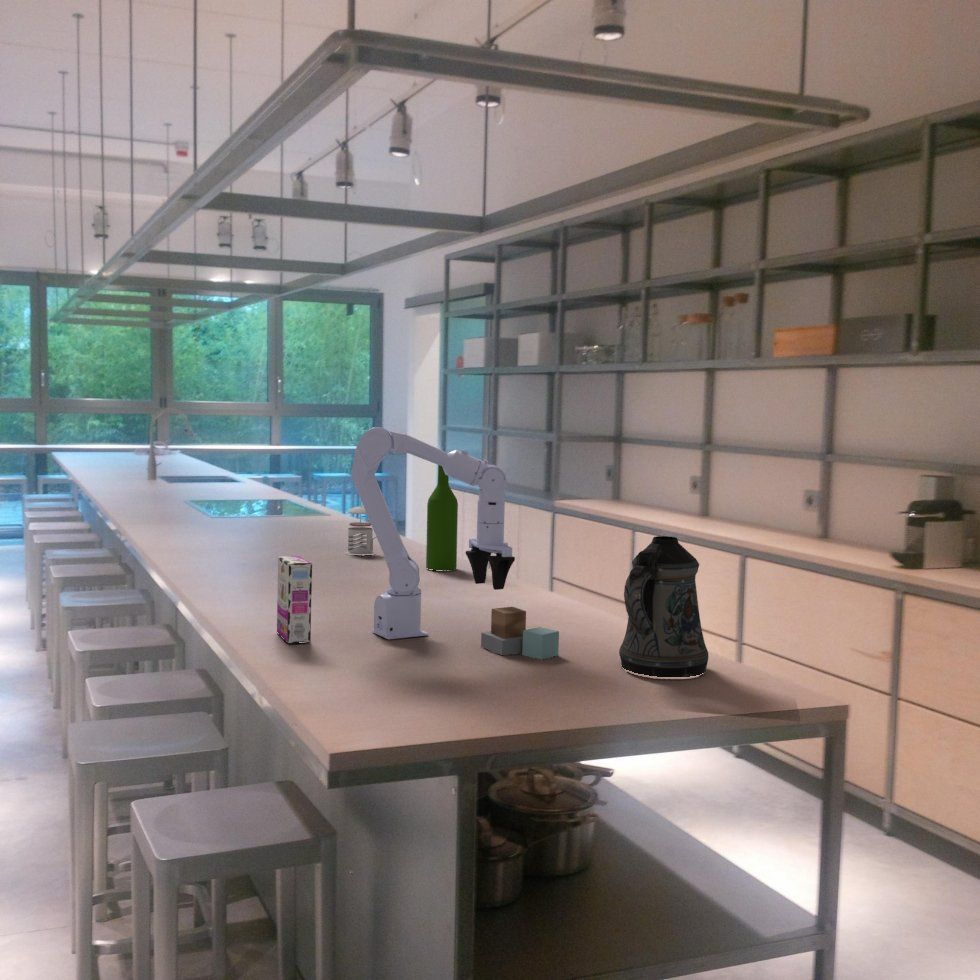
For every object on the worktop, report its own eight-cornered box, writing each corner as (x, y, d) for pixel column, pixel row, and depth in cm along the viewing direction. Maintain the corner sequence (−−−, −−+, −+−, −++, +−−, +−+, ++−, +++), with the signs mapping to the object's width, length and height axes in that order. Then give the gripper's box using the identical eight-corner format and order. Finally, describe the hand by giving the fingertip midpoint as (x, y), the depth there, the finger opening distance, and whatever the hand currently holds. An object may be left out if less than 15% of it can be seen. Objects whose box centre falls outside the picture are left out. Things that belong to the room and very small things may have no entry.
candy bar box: (312, 643, 209) (313, 562, 208) (287, 645, 207) (288, 563, 206) (299, 631, 219) (300, 554, 218) (276, 633, 217) (276, 555, 216)
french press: (349, 551, 337) (350, 474, 335) (384, 552, 336) (385, 475, 333) (340, 555, 327) (341, 476, 325) (376, 557, 326) (378, 477, 324)
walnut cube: (504, 638, 204) (504, 613, 204) (490, 633, 209) (491, 608, 208) (525, 635, 207) (526, 611, 206) (512, 630, 211) (512, 606, 211)
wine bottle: (462, 570, 304) (464, 459, 302) (436, 572, 299) (438, 459, 297) (446, 565, 312) (448, 457, 309) (420, 568, 307) (422, 457, 304)
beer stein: (708, 662, 201) (714, 534, 199) (706, 688, 183) (712, 547, 180) (623, 655, 205) (627, 530, 203) (612, 680, 186) (617, 542, 184)
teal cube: (541, 660, 200) (542, 634, 200) (522, 655, 204) (522, 630, 203) (558, 656, 204) (559, 631, 203) (539, 651, 207) (539, 627, 207)
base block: (501, 655, 203) (502, 640, 202) (481, 646, 209) (481, 632, 209) (536, 651, 207) (536, 636, 207) (514, 643, 214) (514, 628, 213)
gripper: (525, 525, 215) (523, 590, 216) (489, 518, 227) (487, 579, 228) (496, 526, 211) (494, 593, 212) (461, 519, 223) (459, 581, 224)
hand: (489, 586), depth 220 cm, fingers open, 7 cm apart
